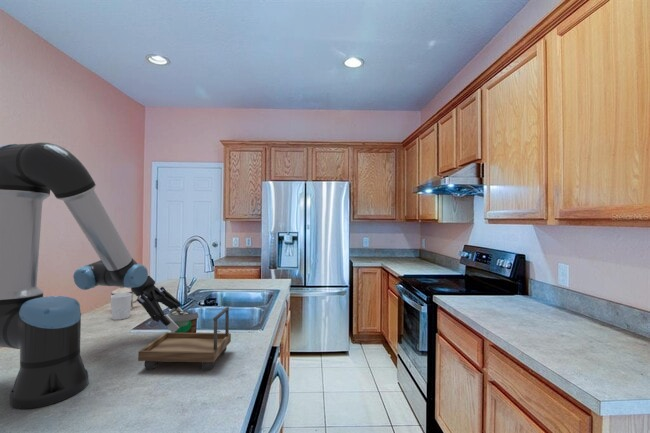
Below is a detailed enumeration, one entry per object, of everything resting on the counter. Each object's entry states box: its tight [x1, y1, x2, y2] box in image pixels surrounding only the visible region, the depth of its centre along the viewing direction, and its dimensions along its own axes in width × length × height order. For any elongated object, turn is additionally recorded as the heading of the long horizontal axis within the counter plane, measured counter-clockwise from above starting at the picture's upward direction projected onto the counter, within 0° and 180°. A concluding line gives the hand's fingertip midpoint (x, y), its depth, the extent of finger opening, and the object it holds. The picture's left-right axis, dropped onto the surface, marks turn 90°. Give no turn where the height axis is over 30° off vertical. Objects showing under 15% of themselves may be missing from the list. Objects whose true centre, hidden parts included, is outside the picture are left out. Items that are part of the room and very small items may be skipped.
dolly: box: [137, 306, 232, 372], centre depth 97 cm, size 15×22×15 cm
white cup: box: [110, 293, 132, 321], centre depth 139 cm, size 8×8×10 cm
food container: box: [167, 308, 200, 333], centre depth 114 cm, size 12×6×10 cm, turn 67°
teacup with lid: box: [110, 287, 141, 311], centre depth 151 cm, size 12×9×12 cm
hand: (182, 325), depth 115 cm, fingers closed on food container, 8 cm apart
